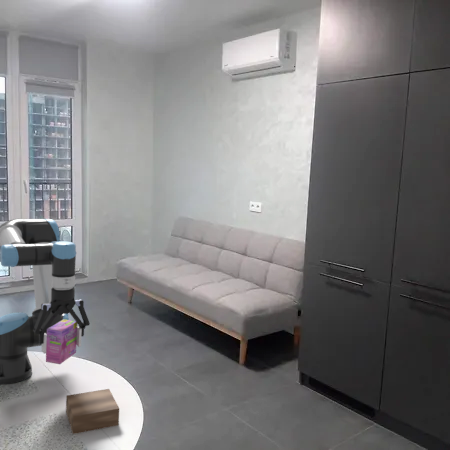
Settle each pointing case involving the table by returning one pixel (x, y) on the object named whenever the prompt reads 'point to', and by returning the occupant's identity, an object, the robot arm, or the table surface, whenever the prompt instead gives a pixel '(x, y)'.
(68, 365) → the table surface
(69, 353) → the box
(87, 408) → the walnut block
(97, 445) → the table surface
